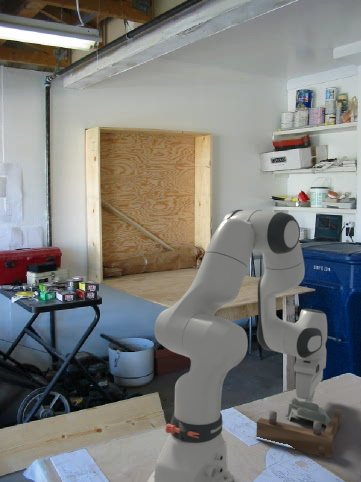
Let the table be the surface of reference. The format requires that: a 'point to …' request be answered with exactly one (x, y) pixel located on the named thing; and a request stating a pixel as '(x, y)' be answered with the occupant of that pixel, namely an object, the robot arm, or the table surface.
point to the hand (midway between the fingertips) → (309, 402)
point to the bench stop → (301, 434)
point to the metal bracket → (307, 411)
